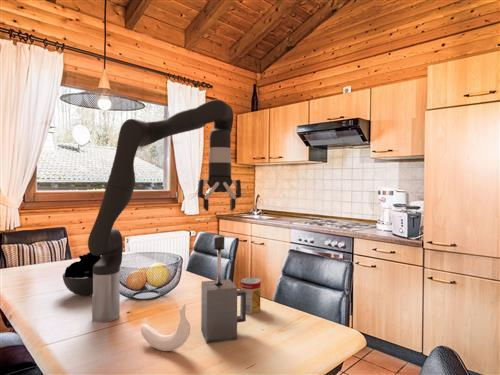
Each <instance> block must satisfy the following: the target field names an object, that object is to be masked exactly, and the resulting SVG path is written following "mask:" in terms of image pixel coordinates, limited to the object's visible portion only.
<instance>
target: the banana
mask: <svg viewBox="0 0 500 375" xmlns="http://www.w3.org/2000/svg"><path fill="white" fill-rule="evenodd" d="M178 311H179V321H178V324H177V327H176V329H175V331H174V332H172V333H170V334H169V335H168V334H167V335H164V334H161V333H159V332H158V331H157V330H156V329H154V328H153V327H151V326H149V324H146V323H144V324H142V325H141V326H140V332H141V335H142V337H143V339H144V340H145V341H146V342H147V344H148V345H149V346H151V347H152V348H154V349H155V350H158V351H162V352H171V351H175V350H178V349H180V348H181V347H182V346H183V345H184V344H185V343H186V342H187V341H188V338H189V336H190V334H191V325H190V322H189V320H188V319H187V317H186V303H184V304H183V306H182V307H180V308H179V310H178Z"/></svg>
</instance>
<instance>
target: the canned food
mask: <svg viewBox="0 0 500 375" xmlns="http://www.w3.org/2000/svg"><path fill="white" fill-rule="evenodd" d="M261 284H262V283H261V279H260V278H256V277H244V278H242V279H240V290H244V291H245V292H246V315H255V314H258V313H260V311H261Z"/></svg>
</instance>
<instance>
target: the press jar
mask: <svg viewBox="0 0 500 375" xmlns="http://www.w3.org/2000/svg"><path fill="white" fill-rule="evenodd" d="M200 294H201V295H200V296H201V297H200V298H201V300H200V301H201V305H200V306H201V309H200V310H201V311H200V314H201V315H200V316H201V318H200V321H201V322H200V324H201V325H200V326H201V327H200V328H201V330H200V331H201V333H202V335H203V338H204V341H205V342H206V344H211V343H213V344H214V343H220V342H227V341H234V340H235V341H236V340H238V323H245V322H246V321H247V320H246V319H247V316H246V315H247V314H246V292H245V291H244V290H241V289H238V287H237V286H236V284H235V283H234V282H233V281H232V280H231V279H221V286H217V279H215V280H206V281H205V280H204V281H203V280H202V281H201V293H200ZM238 297H240V306H239V308H240V311H239V312H240V314H239V315H238Z"/></svg>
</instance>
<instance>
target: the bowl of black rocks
mask: <svg viewBox="0 0 500 375" xmlns="http://www.w3.org/2000/svg"><path fill="white" fill-rule="evenodd" d="M101 256H102V255H101ZM101 256H95V255H93V254H91V253H90V251H89V252H88V253H86V254H83V255H78V258H79V260H78V261H74V262H73V263H70V265H69V266H66V267H65V271H64V273H63V274H62V279H63V284H64V285H65V287H66V288H67V290H69V291H70V292H71V293H72V294H75V295H78V296H81V297H88V296H92V295H93V266H94V265H95V264H96V263H97V262H98V261H99V260H100V258H101Z"/></svg>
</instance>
